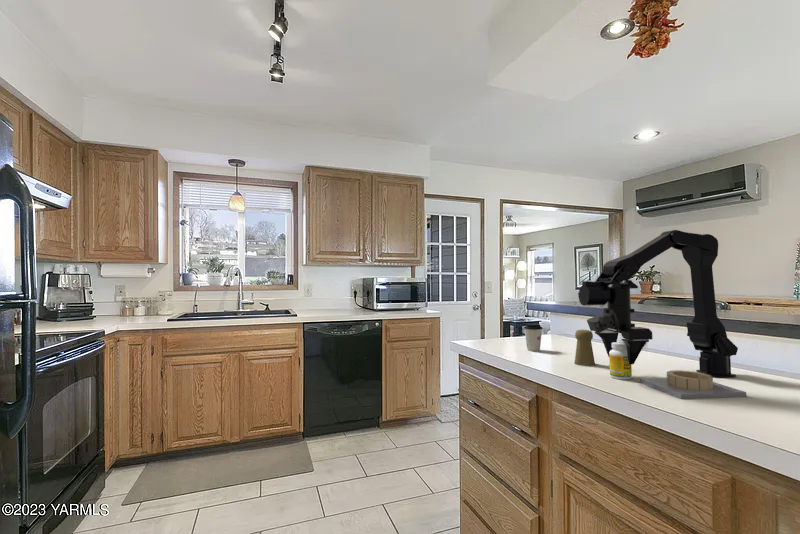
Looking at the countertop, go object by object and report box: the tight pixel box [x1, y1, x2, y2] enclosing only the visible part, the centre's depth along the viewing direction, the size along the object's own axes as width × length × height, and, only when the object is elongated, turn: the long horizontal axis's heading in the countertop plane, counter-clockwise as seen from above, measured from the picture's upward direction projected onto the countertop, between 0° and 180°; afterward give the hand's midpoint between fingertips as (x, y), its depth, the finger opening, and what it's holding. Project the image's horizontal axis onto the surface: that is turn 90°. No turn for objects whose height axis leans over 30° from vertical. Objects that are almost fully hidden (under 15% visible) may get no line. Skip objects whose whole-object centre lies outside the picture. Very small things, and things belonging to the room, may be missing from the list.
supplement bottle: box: [608, 341, 633, 381], centre depth 108 cm, size 5×5×10 cm
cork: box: [574, 329, 596, 367], centre depth 125 cm, size 6×6×11 cm
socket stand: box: [639, 369, 747, 400], centre depth 96 cm, size 16×14×4 cm
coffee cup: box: [523, 323, 543, 352], centre depth 148 cm, size 7×7×10 cm
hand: (620, 360), depth 108 cm, fingers open, 9 cm apart
